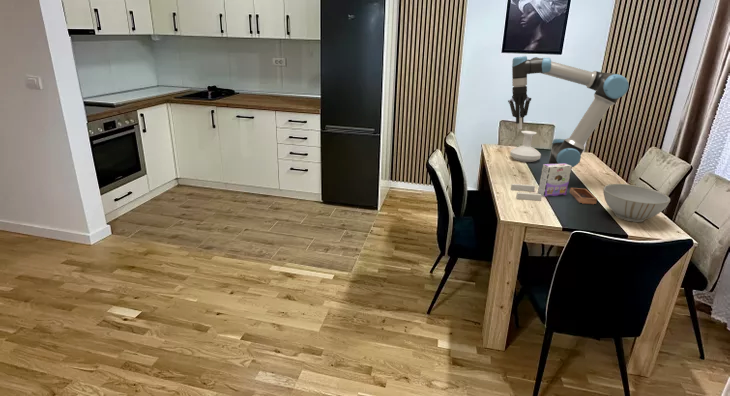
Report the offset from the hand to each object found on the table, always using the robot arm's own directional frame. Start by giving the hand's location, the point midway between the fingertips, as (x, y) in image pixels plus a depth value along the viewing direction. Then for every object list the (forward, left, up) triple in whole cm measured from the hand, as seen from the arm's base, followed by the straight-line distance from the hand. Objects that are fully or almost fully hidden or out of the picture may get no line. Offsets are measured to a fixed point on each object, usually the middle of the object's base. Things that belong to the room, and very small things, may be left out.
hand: (519, 128), depth 240 cm
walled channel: (-2, +26, -30) cm, 40 cm away
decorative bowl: (-45, +48, -30) cm, 72 cm away
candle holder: (-18, -48, -30) cm, 59 cm away
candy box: (-17, +22, -30) cm, 41 cm away
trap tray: (-31, +26, -30) cm, 50 cm away
